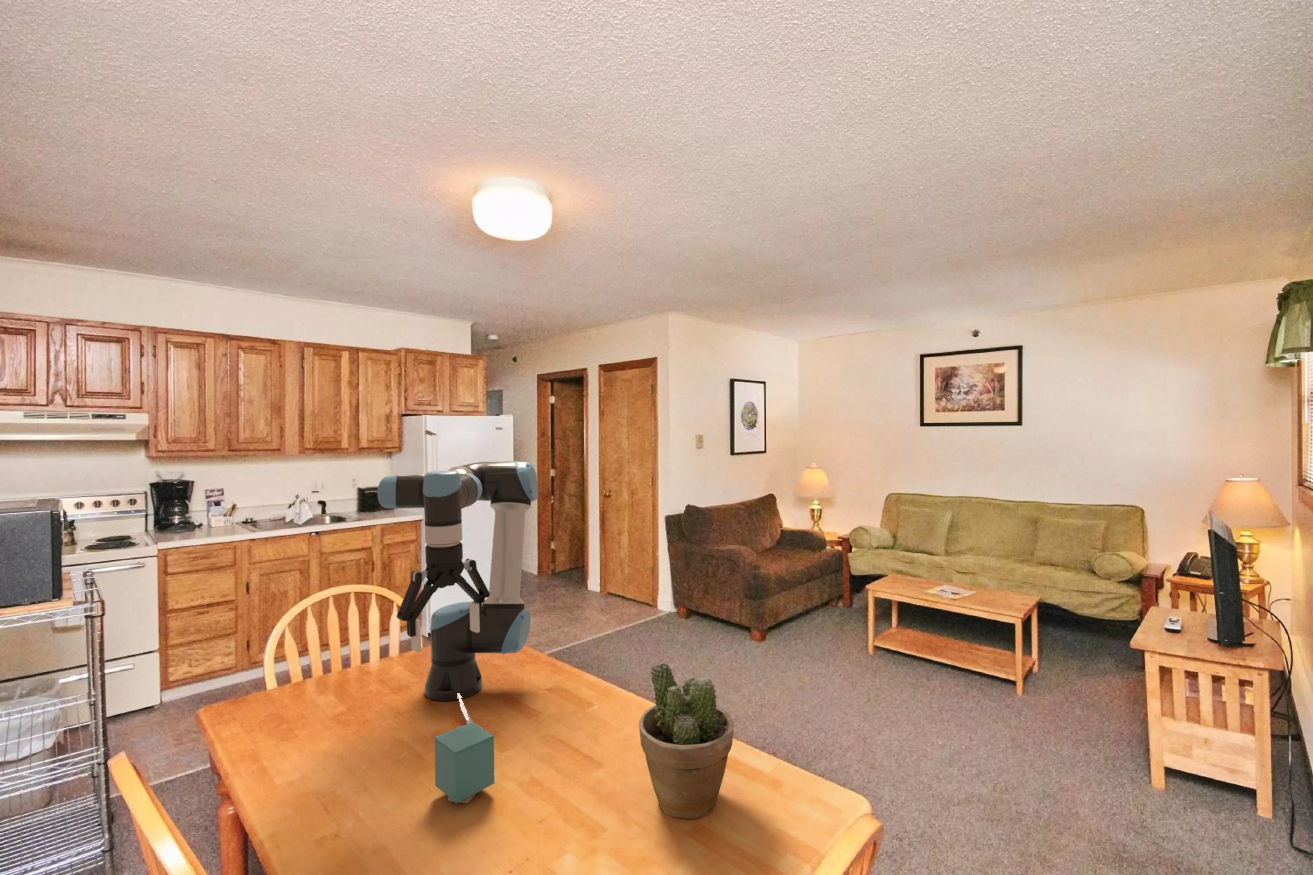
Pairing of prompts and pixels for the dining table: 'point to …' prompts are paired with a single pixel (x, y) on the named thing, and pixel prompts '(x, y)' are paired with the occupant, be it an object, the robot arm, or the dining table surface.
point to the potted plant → (685, 744)
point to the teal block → (464, 761)
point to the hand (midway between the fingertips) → (446, 640)
